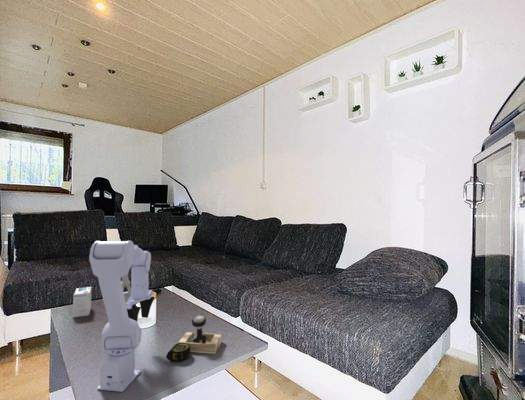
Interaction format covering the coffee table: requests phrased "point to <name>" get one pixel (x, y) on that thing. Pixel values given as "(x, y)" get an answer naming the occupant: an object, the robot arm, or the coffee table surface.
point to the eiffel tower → (125, 283)
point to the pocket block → (208, 347)
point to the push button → (198, 329)
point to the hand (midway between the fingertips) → (139, 321)
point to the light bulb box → (82, 302)
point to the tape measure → (179, 352)
